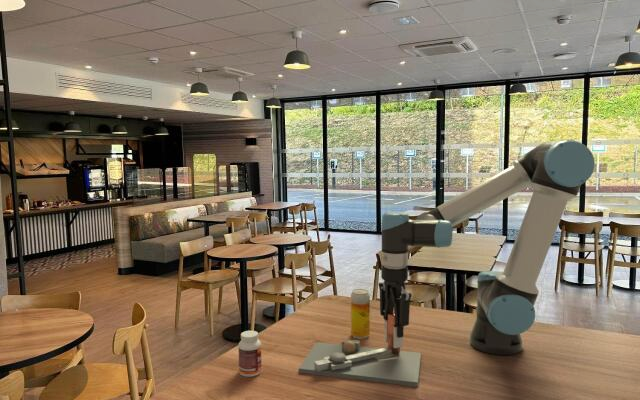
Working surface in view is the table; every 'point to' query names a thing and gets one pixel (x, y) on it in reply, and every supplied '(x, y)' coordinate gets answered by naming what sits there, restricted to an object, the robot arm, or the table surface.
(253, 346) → the pill bottle
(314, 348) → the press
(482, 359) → the table surface
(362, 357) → the lever
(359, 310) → the beer can
